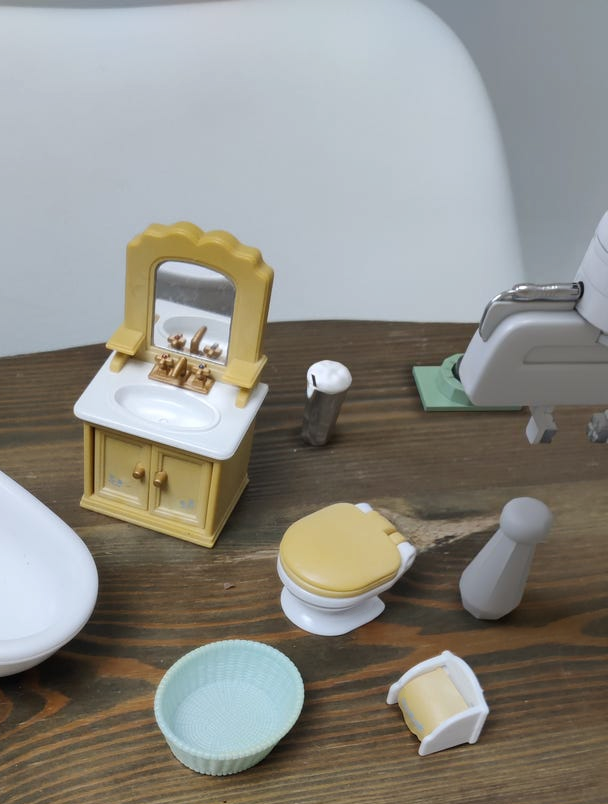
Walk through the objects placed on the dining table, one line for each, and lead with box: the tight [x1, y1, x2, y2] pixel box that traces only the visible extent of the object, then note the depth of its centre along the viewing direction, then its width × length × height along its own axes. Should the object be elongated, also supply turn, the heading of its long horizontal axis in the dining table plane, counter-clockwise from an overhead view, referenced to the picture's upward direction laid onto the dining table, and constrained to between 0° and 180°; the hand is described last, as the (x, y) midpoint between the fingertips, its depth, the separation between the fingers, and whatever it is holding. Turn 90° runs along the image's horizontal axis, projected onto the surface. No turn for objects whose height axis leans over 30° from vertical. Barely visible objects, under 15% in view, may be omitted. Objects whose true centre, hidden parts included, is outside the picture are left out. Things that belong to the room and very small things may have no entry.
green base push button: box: [411, 353, 524, 412], centre depth 111 cm, size 11×7×2 cm, turn 92°
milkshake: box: [300, 359, 353, 447], centre depth 103 cm, size 4×5×10 cm
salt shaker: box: [458, 496, 555, 620], centre depth 89 cm, size 6×6×13 cm
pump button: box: [454, 355, 464, 382], centre depth 110 cm, size 4×4×2 cm
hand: (567, 438), depth 77 cm, fingers open, 3 cm apart
